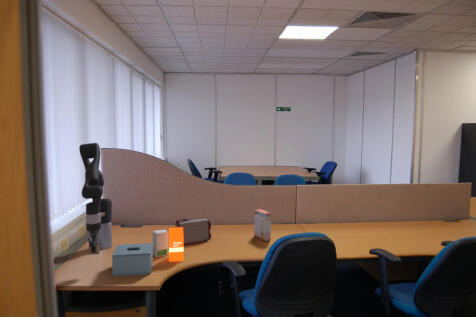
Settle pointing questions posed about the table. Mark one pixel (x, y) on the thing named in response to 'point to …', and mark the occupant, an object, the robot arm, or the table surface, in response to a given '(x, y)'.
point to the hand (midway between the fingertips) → (94, 251)
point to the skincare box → (160, 243)
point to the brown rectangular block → (96, 249)
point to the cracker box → (262, 224)
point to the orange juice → (176, 244)
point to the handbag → (195, 230)
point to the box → (132, 259)
